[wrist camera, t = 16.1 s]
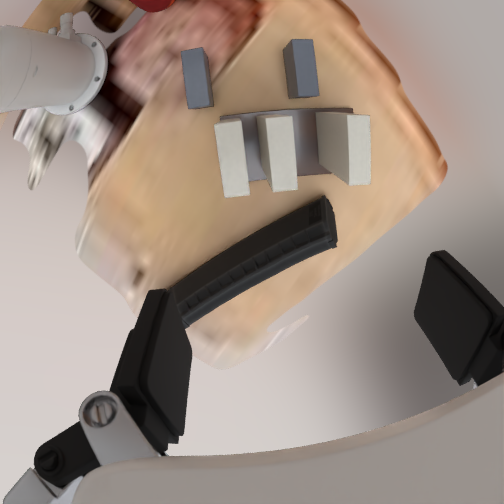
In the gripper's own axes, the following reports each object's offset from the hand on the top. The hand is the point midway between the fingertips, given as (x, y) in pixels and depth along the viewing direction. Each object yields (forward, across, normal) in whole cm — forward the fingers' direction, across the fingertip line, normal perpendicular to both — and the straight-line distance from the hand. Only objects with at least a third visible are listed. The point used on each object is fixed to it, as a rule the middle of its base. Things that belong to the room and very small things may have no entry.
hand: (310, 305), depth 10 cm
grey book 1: (+30, +6, -11) cm, 33 cm away
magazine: (+31, +4, +14) cm, 34 cm away
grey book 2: (+30, -6, -11) cm, 33 cm away
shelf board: (+30, -5, -2) cm, 31 cm away
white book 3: (+29, -10, -2) cm, 31 cm away
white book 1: (+29, +2, -2) cm, 29 cm away
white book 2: (+29, -2, -2) cm, 29 cm away
